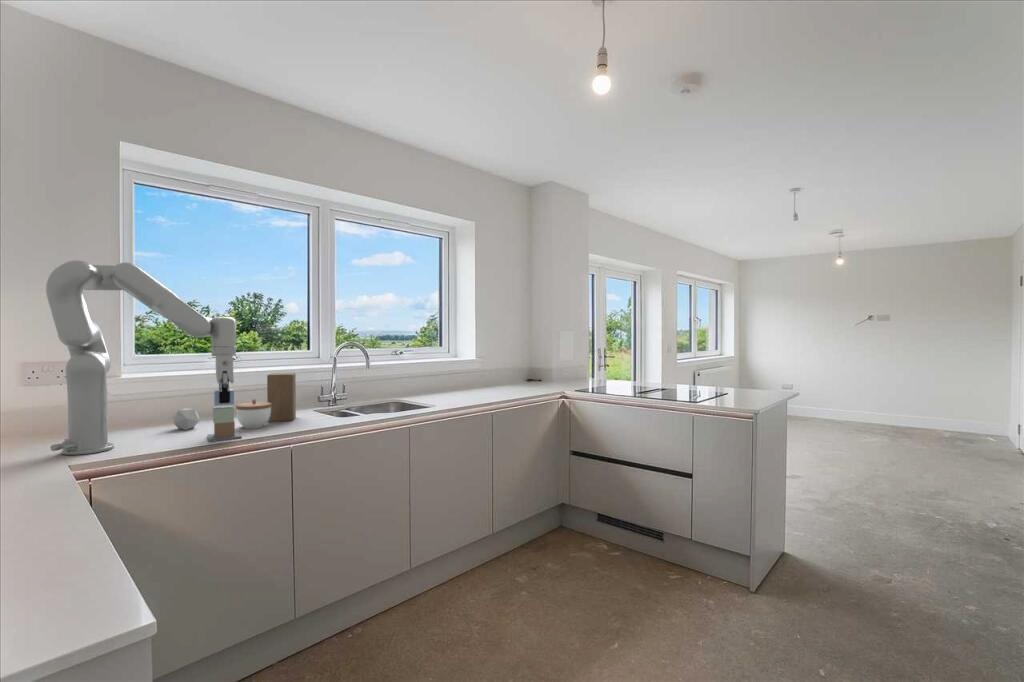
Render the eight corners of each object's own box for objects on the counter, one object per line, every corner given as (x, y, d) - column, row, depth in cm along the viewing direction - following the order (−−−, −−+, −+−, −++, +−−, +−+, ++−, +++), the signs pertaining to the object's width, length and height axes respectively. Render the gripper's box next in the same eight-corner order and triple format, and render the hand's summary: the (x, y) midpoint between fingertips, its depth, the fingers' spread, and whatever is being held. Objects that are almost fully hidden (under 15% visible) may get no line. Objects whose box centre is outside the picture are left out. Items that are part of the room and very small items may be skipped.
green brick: (233, 421, 176) (233, 407, 176) (214, 423, 173) (214, 409, 173) (232, 419, 181) (232, 405, 181) (213, 421, 178) (212, 407, 178)
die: (204, 429, 195) (202, 408, 200) (190, 422, 188) (188, 400, 192) (183, 437, 194) (182, 415, 199) (168, 430, 187) (167, 408, 191)
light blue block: (234, 404, 176) (234, 390, 176) (214, 405, 173) (214, 391, 173) (233, 402, 181) (233, 388, 181) (214, 403, 178) (214, 389, 178)
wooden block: (271, 418, 218) (270, 372, 217) (295, 417, 221) (295, 372, 220) (267, 422, 208) (267, 374, 208) (293, 420, 211) (292, 374, 211)
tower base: (241, 438, 176) (241, 422, 176) (208, 441, 170) (208, 424, 170) (239, 433, 184) (238, 418, 184) (207, 436, 179) (207, 420, 179)
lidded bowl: (238, 431, 189) (238, 402, 189) (234, 426, 199) (234, 398, 199) (274, 427, 196) (274, 399, 196) (268, 422, 207) (268, 396, 206)
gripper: (237, 352, 172) (238, 404, 172) (233, 350, 186) (233, 398, 186) (212, 352, 168) (213, 405, 168) (210, 351, 182) (210, 399, 182)
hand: (224, 401), depth 177 cm, fingers closed on light blue block, 6 cm apart
